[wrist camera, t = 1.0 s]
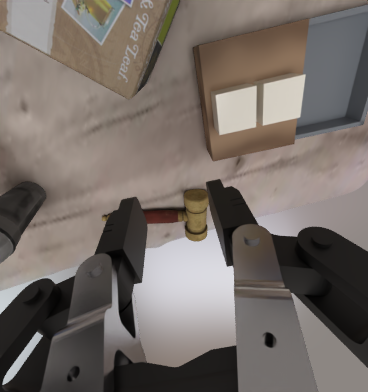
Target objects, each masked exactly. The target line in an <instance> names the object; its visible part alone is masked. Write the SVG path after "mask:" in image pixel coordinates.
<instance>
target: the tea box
mask: <svg viewBox="0 0 368 392" xmlns="http://www.w3.org/2000/svg"><path fill="white" fill-rule="evenodd" d="M179 3H180V0H0V30H1V31H3V32H5V33H6V34H8V35H10V36H12V37H14V38H16V39H18V40H20V41H22V42H23V43H25V44H27V45H29V46H31V47H33V48H34V49H36V50H38V51H40V52H42V53H44V54H46V55H47V56H49V57H51V58H53V59H55V60H57V61H59V62H60V63H62V64H64V65H66V66H68V67H70V68H72V69H73V70H75V71H77V72H79V73H81V74H83V75H85V76H86V77H88V78H90V79H92V80H94V81H96V82H97V83H99V84H101V85H103V86H105V87H107V88H109V89H110V90H112V91H114V92H116V93H118V94H120V95H122V96H123V97H125V98H127V99H129V100H130V99H131V98H132V97H133V96H135V95H136V94H137V93H138V92H139V91H140V90H141V89H142V88H143V87H144V86H145V85H146V84H147V82H148V80H149V78H150V75H151V73H152V70H153V68H154V65H155V63H156V61H157V58H158V56H159V53H160V51H161V48H162V46H163V43H164V41H165V38H166V36H167V33H168V31H169V28H170V26H171V23H172V21H173V18H174V16H175V13H176V10H177V8H178V5H179Z"/></svg>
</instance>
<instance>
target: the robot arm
mask: <svg viewBox="0 0 368 392" xmlns="http://www.w3.org/2000/svg"><path fill="white" fill-rule="evenodd" d="M206 187H207V193H208V199H209V206H210V211H211V215H212V218H213V222H214V225H215V228H216V231H217V234H218V238H219V241H220V244H221V248H222V251H223V255H224V257H225V261H226V265H227V266H233V268H234V297H235V321H236V344H237V345H236V346H231V347H225V348H219V349H213V350H210V351H208V352H206V353H204V354H203V355H201V356H199V357H197V358H195V359H193V360H191V361H189V362H187V363H186V364H184V365H182V366H179V367H168V366H162V365H157V364H151V363H147V361H146V356H145V353H144V350H143V348H142V345H141V341H140V334H139V326H138V319H137V318H138V317H137V309H136V301H135V296H134V294H133V286H134V284H137V283H142V276H143V267H144V257H145V248H146V238H147V221H146V218H145V215H144V213H143V210H142V208H141V205H140V203H139V201H138V199H137V197H132V198H127V199H122V200H121V203H120V206H119V209H118V210H115V211H113V213H112V214H111V215H110V216H109V217H108V219H107V222H106V224H105V227H104V230H103V233H102V235H101V238H100V241H99V244H98V246H97V249H96V252H95V254H94V255H93V256H91V257H90V258H88V259H87V260H85V261H84V262H83V263H82V264H81V265H80V266H79V268H78V270H77V272H76V275H75V276H73V277H71V278H69V279H67V280H65V281H63V282H60V283H58V284H55V283H54V282H53V281H52V280H51V279H48V278H45V279H40V280H37V281H35V282H33V283H31V284H30V285H28V286H27V287H26V288H25V289H24V290H22V292H20V294H19V295H18V296H17V297H16V298H15V299H14V300H13V301H12V302H11V303H10V304H9V306H8V307H7V308H6V309H5V310H4V311H3V312H2V313H1V314H0V392H318V389H317V385H316V382H315V378H314V374H313V371H312V367H311V363H310V360H309V356H308V353H307V349H306V345H305V342H304V338H303V334H302V331H301V327H300V323H299V320H298V316H297V312H296V309H295V305H294V302H293V298H292V295H291V293H294V294H295V295H296V296H297V297H298V298H299V299H300V300H301V301H302V302H303V303H304V304H305V305H306V306H307V307H308V308H309V309H310V310H311V311H312V312H313V313H314V314H315V315H316V316H317V317H318V318H319V319H320V320H321V321H322V322H323V323H324V324H325V325H326V326H327V327H328V328H329V329H330V330H331V331H332V332H333V334H334V335H336V337H337V338H338V339H339V340H340V341H341V342H343V344H344V345H346V346H347V347H348V349H350V350H351V352H352V353H353V354H354V355H356V356H357V357H358V358H359V359H360V361H361V362H363V363H364V364H365V365H366V367H367V368H368V251H366V250H364V249H362V248H361V247H359V246H357V245H356V244H354V243H352V242H351V241H349V240H347V239H345V238H344V237H342V236H341V235H339V234H337V233H335V232H334V231H332V230H329V229H326V228H322V227H308V228H305V229H303V230H301V231H300V232H299V234H298V237H292V236H291V237H290V236H278V235H273V234H271V233H270V232H269V231H268V230H267V229H265V228H264V227H262V226H259V225H258V223H257V221H256V220H255V218H254V216H253V214H252V213H251V211H250V209H249V207H248V206H247V204H246V202H245V200H244V199H243V197H242V195H241V193H240V192H239V190H237V189H235V188H234V187H232V186H231V187H226V188H224V186H223V184H222V182H221V180H220V179H218V180H213V181H208V182H206ZM36 332H39V333H40V334H41V335H43V337H42V338H41V340H40V341H39V343H38V344H37V345H36V347H35V348H34V350H33V351H32V353H31V354H30V355H29V357H28V358H27V360H26V361H25V362H24V364H23V365H22V367H21V368H20V370H19V371H18V372H17V374H16V375H15V376H14V378H13V379H12V380H11V381H9V382H8V383H6V384H4V385H2V383H3V379H4V376H5V375H6V373H7V371H8V370H9V369H10V367H11V366H12V365H13V363H14V362H15V361H16V359H17V358H18V356H19V355H20V354H21V352H22V351H23V350H24V348H25V347H26V346H27V344H28V343H29V342H30V340H31V339H32V337H33V336H34V335H35V333H36Z"/></svg>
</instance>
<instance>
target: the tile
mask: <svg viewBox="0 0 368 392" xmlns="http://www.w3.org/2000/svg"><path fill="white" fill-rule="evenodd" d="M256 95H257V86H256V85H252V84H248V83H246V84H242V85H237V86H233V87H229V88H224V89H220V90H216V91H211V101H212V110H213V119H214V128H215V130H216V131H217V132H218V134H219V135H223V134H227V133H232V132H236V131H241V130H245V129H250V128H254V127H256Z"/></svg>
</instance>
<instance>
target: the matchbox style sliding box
mask: <svg viewBox="0 0 368 392" xmlns="http://www.w3.org/2000/svg"><path fill="white" fill-rule="evenodd" d="M309 19H310V18H309ZM309 19H304V20H300V21H296V22H292V23H288V24H284V25H280V26H276V27H272V28H267V29H263V30H259V31H255V32H251V33H247V34H243V35H239V36H235V37H230V38H226V39H222V40H218V41H214V42H210V43H206V44H202V45H198V46H196V47H194V48H193V50H194V58H195V65H196V72H197V79H198V87H199V94H200V101H201V108H202V116H203V123H204V130H205V138H206V145H207V150H208V152H209V154H210V156H211V158H212V160H213V161H217V160H222V159H227V158H231V157H236V156H241V155H245V154H250V153H254V152H259V151H264V150H268V149H273V148H278V147H282V146H287V145H292V144H294V141H295V133H296V125H297V118H295V119H291V120H286V121H282V122H277V123H273V124H268V125H264V126H263V125H261V124H259V123H258V122H256V127H254V128H250V129H245V130H241V131H236V132H232V133H227V134H223V135H219V134H218V132H217V131H216V130H215V128H214V119H213V110H212V101H211V91H216V90H220V89H224V88H229V87H233V86H237V85H242V84H246V83H248V84H252V85H254V82H255V81H259V80H263V79H267V78H272V77H276V76H280V75H285V74H289V73H296V74H303V68H304V60H305V52H306V44H307V36H308V27H309Z"/></svg>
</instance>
